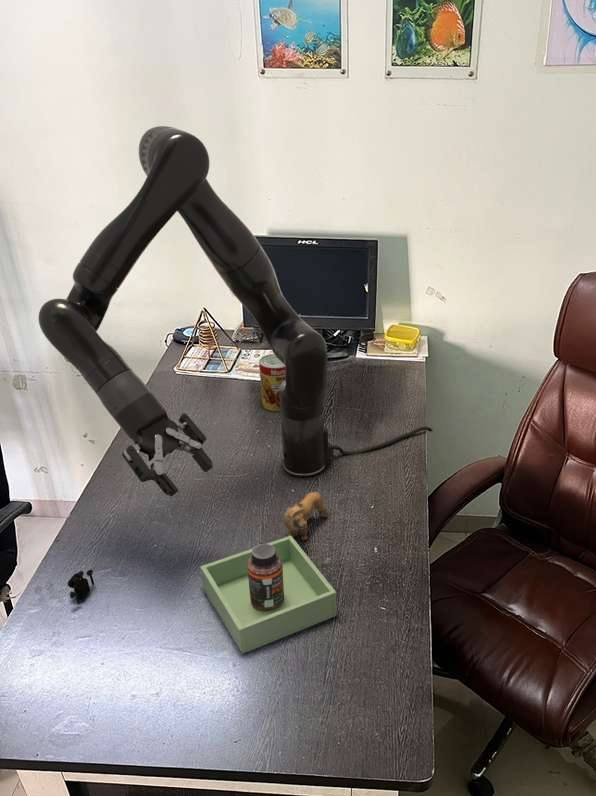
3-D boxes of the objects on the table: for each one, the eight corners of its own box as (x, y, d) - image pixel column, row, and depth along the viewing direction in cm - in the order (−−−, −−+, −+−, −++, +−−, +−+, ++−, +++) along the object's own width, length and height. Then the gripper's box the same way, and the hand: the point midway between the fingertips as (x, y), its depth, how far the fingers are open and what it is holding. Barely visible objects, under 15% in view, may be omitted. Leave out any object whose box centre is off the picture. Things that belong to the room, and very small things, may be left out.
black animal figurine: (77, 610, 129) (71, 589, 126) (64, 608, 129) (57, 586, 126) (98, 583, 134) (92, 562, 131) (85, 581, 135) (79, 560, 132)
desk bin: (292, 558, 141) (290, 535, 138) (336, 615, 129) (336, 592, 126) (203, 589, 133) (200, 566, 130) (242, 654, 121) (239, 630, 118)
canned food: (281, 414, 185) (278, 370, 178) (256, 405, 188) (252, 362, 181) (299, 401, 191) (297, 358, 183) (274, 393, 194) (272, 350, 187)
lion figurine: (305, 553, 142) (303, 516, 137) (279, 548, 143) (276, 511, 138) (331, 510, 153) (330, 474, 148) (307, 505, 155) (306, 469, 149)
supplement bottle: (278, 614, 128) (274, 565, 121) (245, 609, 129) (240, 559, 122) (288, 591, 133) (285, 542, 126) (257, 586, 134) (252, 537, 127)
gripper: (107, 412, 116) (172, 494, 118) (171, 377, 126) (230, 453, 128) (90, 432, 121) (153, 510, 124) (153, 397, 131) (210, 470, 134)
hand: (192, 481), depth 126 cm, fingers open, 8 cm apart
